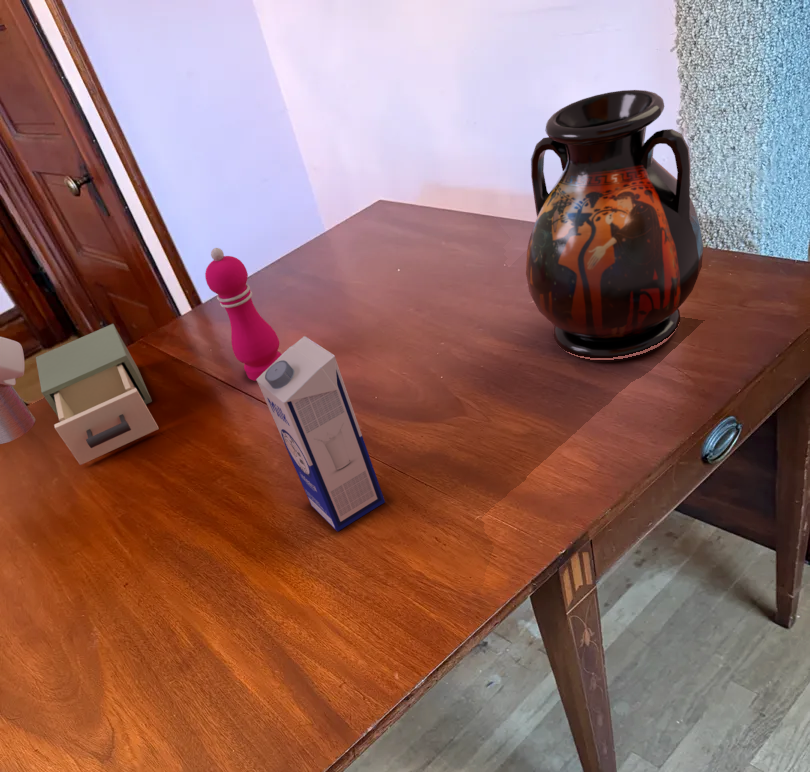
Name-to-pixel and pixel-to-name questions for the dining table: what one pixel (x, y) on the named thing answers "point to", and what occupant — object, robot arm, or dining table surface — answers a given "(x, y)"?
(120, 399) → the drawer
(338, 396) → the milk carton
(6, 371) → the robot arm
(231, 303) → the pepper mill
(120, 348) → the cabinet
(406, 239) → the dining table surface
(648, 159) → the amphora vase
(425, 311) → the dining table surface
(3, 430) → the can
